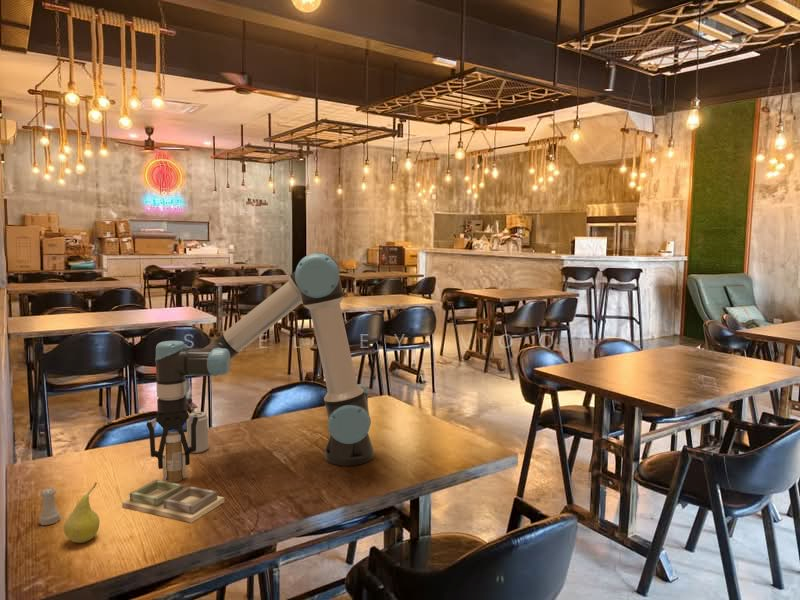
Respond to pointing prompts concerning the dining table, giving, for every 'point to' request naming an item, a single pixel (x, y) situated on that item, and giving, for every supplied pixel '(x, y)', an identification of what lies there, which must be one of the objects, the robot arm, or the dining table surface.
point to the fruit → (82, 521)
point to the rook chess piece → (48, 507)
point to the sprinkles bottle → (173, 457)
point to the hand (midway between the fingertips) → (174, 477)
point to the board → (173, 500)
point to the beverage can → (199, 432)
